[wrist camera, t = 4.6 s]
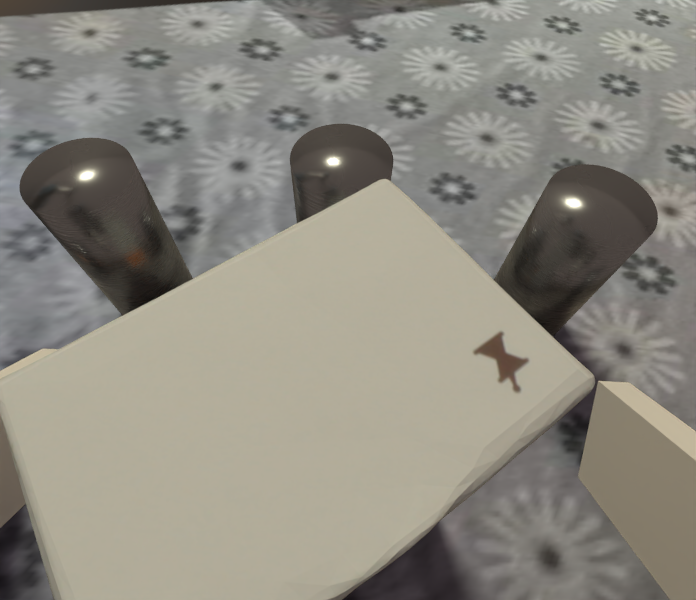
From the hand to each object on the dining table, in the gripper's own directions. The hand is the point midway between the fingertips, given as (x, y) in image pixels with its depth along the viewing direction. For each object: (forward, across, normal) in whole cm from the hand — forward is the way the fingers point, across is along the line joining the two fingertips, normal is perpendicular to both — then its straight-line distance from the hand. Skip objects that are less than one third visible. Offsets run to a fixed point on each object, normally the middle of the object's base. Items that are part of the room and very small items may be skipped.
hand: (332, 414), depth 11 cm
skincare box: (+3, 0, -5) cm, 6 cm away
